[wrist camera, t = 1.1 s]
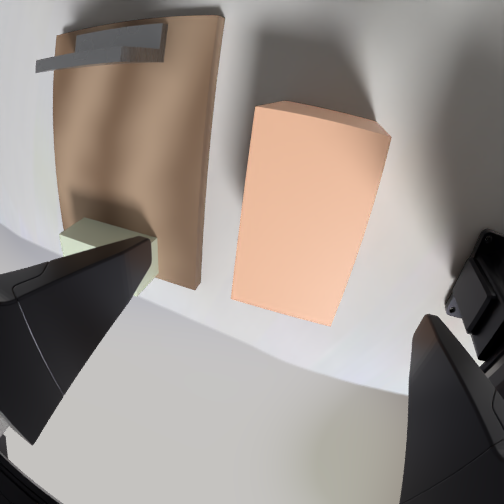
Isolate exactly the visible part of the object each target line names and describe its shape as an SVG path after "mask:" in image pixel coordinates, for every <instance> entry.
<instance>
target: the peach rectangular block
mask: <svg viewBox="0 0 504 504" xmlns="http://www.w3.org/2000/svg"><path fill="white" fill-rule="evenodd" d="M390 141H391V136H390V135H389V134H388V133H387V132H386V131H385V130H384V129H383V128H382V127H381V126H380V125H379V124H378V123H377V122H376V121H373V120H369V119H365V118H362V117H358V116H354V115H350V114H346V113H342V112H338V111H334V110H329V109H325V108H320V107H316V106H311V105H306V104H301V103H296V102H290V101H279V102H274V103H269V104H264V105H259V106H255V113H254V120H253V127H252V134H251V142H250V149H249V157H248V164H247V172H246V180H245V187H244V195H243V203H242V211H241V219H240V227H239V235H238V243H237V251H236V259H235V268H234V276H233V285H232V293H231V299H233V300H236V301H240V302H243V303H247V304H250V305H253V306H257V307H260V308H264V309H267V310H271V311H274V312H278V313H282V314H285V315H289V316H293V317H296V318H300V319H304V320H307V321H311V322H315V323H319V324H323V325H326V326H331V324H332V321H333V319H334V316H335V314H336V311H337V309H338V306H339V303H340V301H341V298H342V296H343V293H344V290H345V288H346V285H347V282H348V279H349V277H350V274H351V271H352V268H353V265H354V263H355V260H356V257H357V254H358V251H359V248H360V245H361V242H362V239H363V236H364V233H365V230H366V227H367V223H368V220H369V217H370V214H371V211H372V207H373V204H374V201H375V197H376V194H377V190H378V187H379V183H380V180H381V176H382V172H383V169H384V165H385V161H386V157H387V153H388V149H389V145H390Z"/></svg>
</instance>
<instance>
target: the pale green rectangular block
mask: <svg viewBox="0 0 504 504" xmlns="http://www.w3.org/2000/svg"><path fill="white" fill-rule="evenodd" d="M136 236H143V237H146V238H149V239H150V240H151V248H152V263H151V266H150V268H149V270H148V271H147V273H146V275H145V276H144V278H143V280H142V281H141V283H140V285H139V286H138V288H137V290H136V292H135V293H134V296H138V295H139V294H140V293H141V292H142V291H143V290H144V289H145V288H146V286H147V285H148V284H149V283H150V282H151V281H152V280H153V279H154V278H155V277H156V276H157V274H158V273H159V270H158V245H157V238H156V237H152V236H149V235H145V234H142V233H138V232H134V231H131V230H127V229H124V228H120V227H117V226H113V225H110V224H106V223H103V222H99V221H96V220H92V219H89V218H85V217H84V218H83V219H81V220H80V221H78V222H76V223H75V224H73V225H72V226H70V227H69V228H67V229H66V230H64V231H63V232H61V233H60V234H59V237H60V242H61V247H62V252H63V257H65V256H68V255H71V254H75V253H78V252H82V251H85V250H89V249H92V248H96V247H99V246H103V245H106V244H110V243H114V242H117V241H121V240H125V239H128V238H132V237H136Z"/></svg>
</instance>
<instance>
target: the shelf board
mask: <svg viewBox="0 0 504 504" xmlns="http://www.w3.org/2000/svg"><path fill="white" fill-rule="evenodd" d="M224 22H225V18H223V17H221V16H219V15H195V16H174V17H160V18H150V19H141V20H133V21H125V22H119V23H112V24H107V25H101V26H96V27H91V28H86V29H82V30H77V31H73V32H69V33H65V34H61V35H57V38H56V48H55V56H59V55H64V54H70V53H75V46H76V36H77V35H81V34H86V33H91V32H97V31H102V30H108V29H115V28H122V27H129V26H138V25H147V24H158V23H164V24H168V30H167V38H166V46H165V55H164V63H128V64H112V65H100V66H90V67H81V68H71V69H62V70H54V81H53V130H54V150H55V164H56V175H57V185H58V193H59V201H60V208H61V215H62V222H63V228H64V230H66V229H67V228H69V227H70V226H72V225H73V224H75V223H76V222H78V221H80V220H81V219H83V218H84V217H85V218H89V219H92V220H96V221H99V222H103V223H106V224H110V225H113V226H117V227H120V228H124V229H127V230H131V231H134V232H138V233H142V234H145V235H149V236H152V237H156V238H157V245H158V270H159V273H158V274H157V276H156V278H159V279H162V280H165V281H168V282H171V283H174V284H177V285H180V286H183V287H186V288H190V289H193V290H196V288H197V287H198V285H199V284H200V283H201V263H202V244H203V227H204V211H205V197H206V184H207V171H208V160H209V149H210V138H211V128H212V118H213V108H214V99H215V91H216V82H217V74H218V66H219V58H220V50H221V43H222V36H223V29H224Z"/></svg>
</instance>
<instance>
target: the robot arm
mask: <svg viewBox="0 0 504 504" xmlns="http://www.w3.org/2000/svg"><path fill="white" fill-rule="evenodd" d="M487 236H490V238H489V239H488V240H485V239H486V237H487ZM151 263H152V248H151V240H150V239H149V238H146V237H143V236H136V237H132V238H128V239H125V240H121V241H117V242H114V243H110V244H106V245H103V246H99V247H96V248H92V249H89V250H85V251H82V252H78V253H75V254H71V255H68V256H65V257H61V258H58V259H55V260H51V261H50V262H44V263H41V264H38V265H34V266H31V267H28V268H24V269H20V270H16V271H13V272H8V273H4V274H0V504H63V503H61V502H60V501H59V500H57V499H56V498H54V497H53V496H52V495H50V494H49V493H48V492H47V491H45V490H44V489H43V488H41V487H40V486H39V485H38V484H36V483H35V482H34V481H33V480H31V479H30V478H29V477H28V476H27V475H25V474H24V473H23V472H22V471H21V470H20V469H18V468H17V467H16V466H15V465H14V464H13V463H12V462H11V461H10V460H9V459H8V456H7V446H6V437H5V436H4V435H3V433H4V432H5V431H6V429H7V428H8V427H9V426H10V427H11V428H12V429H13V430H14V431H16V432H17V433H18V434H19V435H20V436H21V437H23V438H24V439H25V440H26V441H27V442H29V443H30V444H31V445H33V444H34V443H35V442H36V440H37V438H38V437H39V435H40V433H41V432H42V430H43V428H44V427H45V425H46V424H47V422H48V420H49V419H50V417H51V415H52V414H53V412H54V411H55V409H56V407H57V406H58V404H59V403H60V401H61V400H62V398H63V395H64V394H65V393H66V392H67V390H68V389H69V387H70V385H71V384H72V383H73V381H74V379H75V378H76V377H77V375H78V373H79V372H80V371H81V369H82V368H83V366H84V365H85V363H86V361H87V360H88V359H89V357H90V356H91V354H92V353H93V351H94V350H95V349H96V347H97V346H98V344H99V343H100V341H101V340H102V339H103V337H104V336H105V334H106V333H107V332H108V330H109V329H110V327H111V326H112V325H113V323H114V322H115V320H116V319H117V318H118V316H119V315H120V314H121V312H122V311H123V309H124V308H125V307H126V305H127V304H128V303H129V301H130V300H131V298H132V296H133V295H134V293H135V292H136V290H137V288H138V286H139V285H140V283H141V281H142V280H143V278H144V276H145V275H146V273H147V271H148V270H149V268H150V266H151ZM452 291H453V293H452V294H451V296H450V298H449V300H448V302H447V303H446V306H445V310H446V313H447V314H448V315H450V316H454V317H458V318H462V320H463V323H464V326H465V329H466V332H467V334H470V335H471V337H472V341H473V344H474V347H475V350H476V354H477V357H478V360H482V361H485V362H484V363H483V364H482V365H481V366H480V367H479V366H478V365H477V363H476V362H475V361H474V360H473V358H472V357H471V356H470V354H469V353H468V352H467V351H466V349H465V348H464V347H463V346H462V345H461V343H460V342H459V341H458V340H457V338H456V337H455V336H454V335H453V334H452V332H451V331H450V330H449V329H448V328H447V326H446V325H445V324H444V323H443V322H442V321H441V319H440V318H439V317H438V316H435V315H431V314H426V315H425V316H424V317H423V319H422V321H421V322H420V324H419V326H418V328H417V329H416V331H415V333H414V335H413V340H412V353H411V364H410V374H409V402H408V404H409V405H408V427H407V442H406V455H405V465H404V475H403V482H402V490H401V497H400V503H399V504H504V235H502V234H500V233H497V232H495V231H492V230H490V229H486V230H484V231H482V233H481V234H480V237H479V239H478V241H477V244H476V246H475V248H474V250H473V252H472V255H471V257H470V258H469V259H468V260H467V262H466V264H465V266H464V268H463V270H462V272H461V274H460V276H459V278H458V280H457V282H456V284H455V286H454V288H453V290H452ZM452 307H454V308H453V309H450V308H452Z"/></svg>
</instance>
